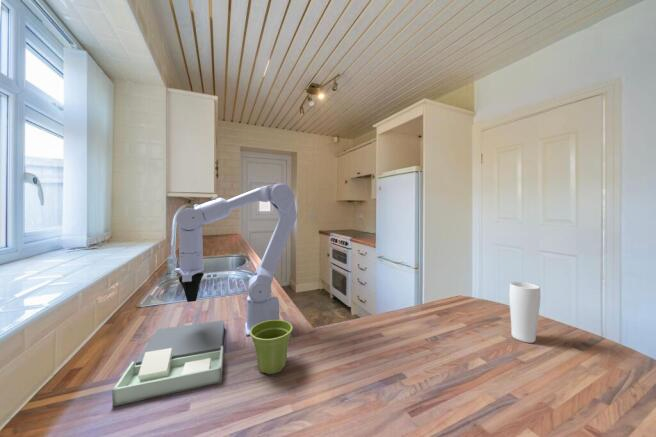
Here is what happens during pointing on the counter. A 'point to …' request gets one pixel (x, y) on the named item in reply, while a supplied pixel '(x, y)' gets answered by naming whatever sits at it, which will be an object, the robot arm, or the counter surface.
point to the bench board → (187, 339)
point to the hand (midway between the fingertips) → (192, 300)
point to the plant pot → (271, 344)
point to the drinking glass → (524, 310)
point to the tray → (167, 379)
